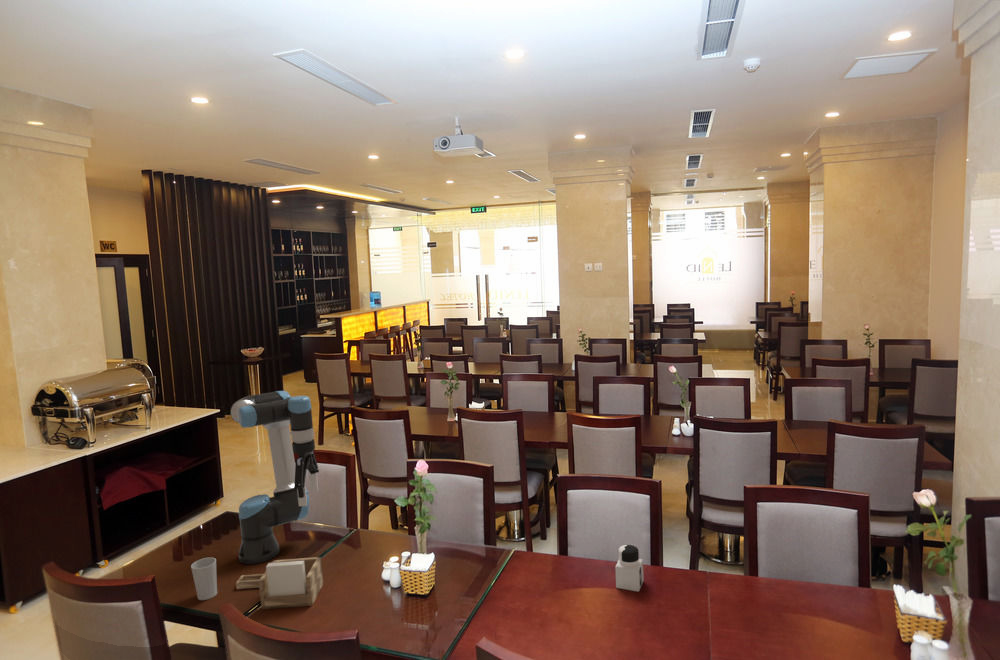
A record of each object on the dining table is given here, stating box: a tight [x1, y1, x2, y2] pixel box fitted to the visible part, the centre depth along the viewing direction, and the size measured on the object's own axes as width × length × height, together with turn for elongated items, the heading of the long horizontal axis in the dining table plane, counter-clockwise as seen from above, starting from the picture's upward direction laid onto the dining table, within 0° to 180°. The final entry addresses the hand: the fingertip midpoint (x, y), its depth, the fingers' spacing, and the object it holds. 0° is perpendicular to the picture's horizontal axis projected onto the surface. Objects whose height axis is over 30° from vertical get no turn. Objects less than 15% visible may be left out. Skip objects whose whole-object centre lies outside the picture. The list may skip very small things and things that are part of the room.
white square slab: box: [265, 561, 307, 597], centre depth 200 cm, size 3×12×13 cm, turn 92°
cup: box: [190, 557, 218, 601], centre depth 208 cm, size 8×8×12 cm
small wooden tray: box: [235, 573, 264, 590], centre depth 214 cm, size 5×14×2 cm, turn 92°
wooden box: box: [258, 556, 324, 610], centre depth 204 cm, size 14×17×10 cm
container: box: [615, 544, 644, 592], centre depth 198 cm, size 8×8×13 cm
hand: (308, 498), depth 209 cm, fingers open, 13 cm apart
